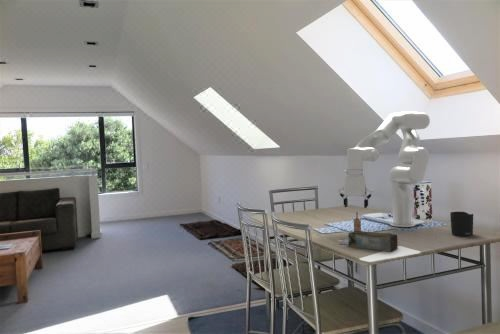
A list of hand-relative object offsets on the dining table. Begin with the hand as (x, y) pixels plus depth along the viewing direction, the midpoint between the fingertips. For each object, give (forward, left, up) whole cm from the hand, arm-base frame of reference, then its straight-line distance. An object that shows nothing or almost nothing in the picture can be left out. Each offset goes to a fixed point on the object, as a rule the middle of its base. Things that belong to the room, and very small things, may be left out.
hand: (355, 207), depth 189 cm
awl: (0, 0, -13) cm, 13 cm away
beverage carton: (+23, +13, -14) cm, 30 cm away
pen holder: (-12, +46, -13) cm, 49 cm away
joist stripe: (+16, 0, -13) cm, 20 cm away
